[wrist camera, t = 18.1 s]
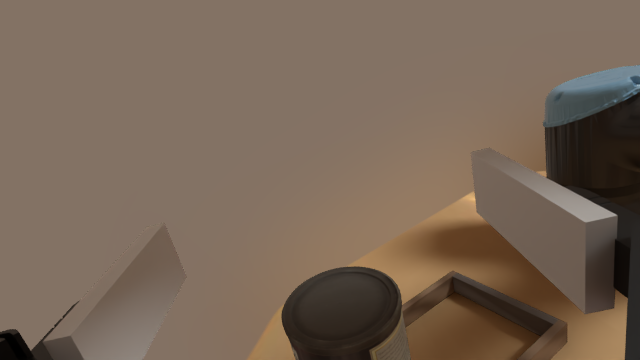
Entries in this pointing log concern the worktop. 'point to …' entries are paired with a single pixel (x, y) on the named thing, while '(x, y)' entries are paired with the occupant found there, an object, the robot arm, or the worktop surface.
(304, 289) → the coffee can
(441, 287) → the wooden serving tray
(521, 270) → the worktop surface
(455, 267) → the worktop surface
